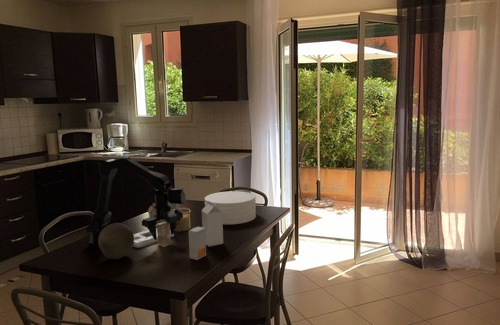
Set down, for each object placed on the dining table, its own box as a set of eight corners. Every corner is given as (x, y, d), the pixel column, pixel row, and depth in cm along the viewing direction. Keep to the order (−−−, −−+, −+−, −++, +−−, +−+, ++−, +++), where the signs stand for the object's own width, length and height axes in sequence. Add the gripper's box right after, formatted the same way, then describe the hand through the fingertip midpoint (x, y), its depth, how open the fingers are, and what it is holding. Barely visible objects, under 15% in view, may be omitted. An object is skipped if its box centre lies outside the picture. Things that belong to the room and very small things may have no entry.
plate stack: (227, 207, 239) (226, 189, 237) (265, 214, 223) (265, 194, 221) (195, 219, 217) (194, 199, 215) (235, 227, 200) (234, 205, 199)
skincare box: (197, 260, 159) (196, 232, 158) (189, 258, 162) (187, 230, 160) (206, 255, 164) (205, 227, 163) (198, 253, 167) (197, 226, 165)
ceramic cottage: (186, 215, 224) (182, 190, 221) (166, 224, 210) (162, 197, 208) (165, 214, 232) (162, 189, 229) (145, 222, 218) (141, 196, 216)
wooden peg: (163, 247, 175) (162, 225, 174) (158, 245, 178) (156, 223, 177) (170, 244, 178) (169, 223, 177) (165, 242, 181) (164, 221, 179)
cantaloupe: (97, 257, 166) (94, 222, 164) (131, 250, 173) (128, 217, 171) (102, 268, 154) (99, 231, 152) (139, 260, 161) (136, 225, 158)
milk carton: (208, 247, 174) (206, 205, 171) (202, 242, 180) (200, 201, 177) (223, 244, 177) (221, 202, 174) (217, 239, 183) (215, 199, 181)
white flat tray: (137, 248, 175) (137, 242, 174) (123, 242, 183) (122, 237, 182) (174, 236, 189) (173, 231, 189) (159, 231, 197) (159, 226, 197)
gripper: (154, 211, 163) (157, 247, 165) (189, 201, 177) (191, 235, 179) (139, 206, 170) (142, 241, 173) (174, 198, 184) (176, 230, 187)
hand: (164, 237), depth 178 cm, fingers open, 9 cm apart
